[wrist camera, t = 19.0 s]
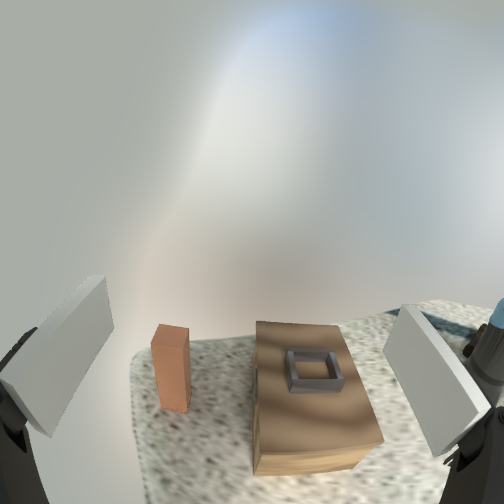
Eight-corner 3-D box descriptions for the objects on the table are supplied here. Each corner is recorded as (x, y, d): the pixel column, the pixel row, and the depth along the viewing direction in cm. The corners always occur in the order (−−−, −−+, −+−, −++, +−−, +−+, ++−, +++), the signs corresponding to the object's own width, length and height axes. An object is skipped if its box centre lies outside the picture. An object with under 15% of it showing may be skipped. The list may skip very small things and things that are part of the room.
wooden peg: (167, 390, 38) (159, 323, 33) (191, 394, 38) (188, 328, 33) (161, 408, 34) (150, 342, 29) (187, 413, 35) (182, 348, 30)
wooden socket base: (249, 358, 49) (256, 310, 45) (324, 361, 49) (341, 316, 45) (249, 477, 25) (261, 444, 21) (355, 470, 26) (392, 432, 22)
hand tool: (470, 361, 47) (479, 347, 45) (460, 354, 50) (468, 340, 48) (486, 338, 56) (492, 326, 54) (477, 332, 59) (484, 320, 57)
